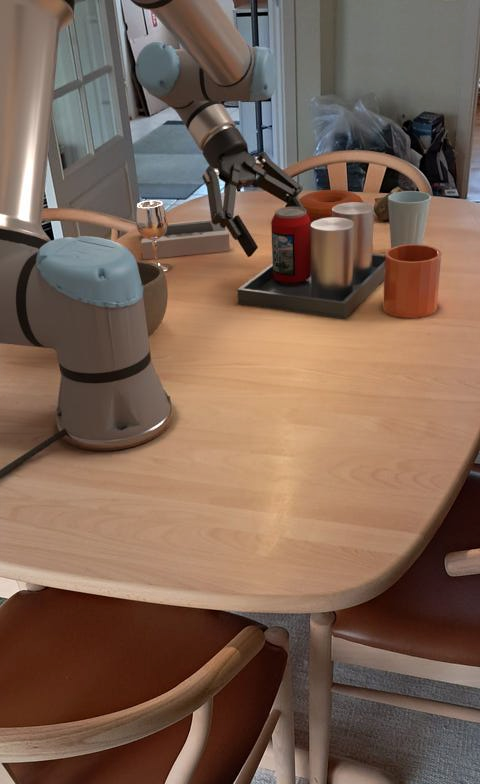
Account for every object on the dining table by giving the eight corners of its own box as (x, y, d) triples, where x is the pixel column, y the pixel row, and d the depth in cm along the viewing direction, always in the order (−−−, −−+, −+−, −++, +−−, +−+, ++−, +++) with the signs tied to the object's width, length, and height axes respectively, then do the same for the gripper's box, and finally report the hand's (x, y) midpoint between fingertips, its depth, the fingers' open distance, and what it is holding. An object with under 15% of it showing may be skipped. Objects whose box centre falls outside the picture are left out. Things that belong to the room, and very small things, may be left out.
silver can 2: (363, 286, 143) (365, 215, 136) (325, 282, 146) (325, 212, 139) (377, 272, 148) (379, 203, 141) (340, 268, 151) (341, 200, 144)
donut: (378, 216, 177) (379, 192, 174) (336, 236, 168) (336, 210, 165) (323, 206, 185) (322, 183, 182) (280, 224, 176) (279, 200, 174)
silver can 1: (343, 305, 137) (344, 232, 130) (304, 300, 140) (303, 228, 133) (359, 290, 142) (360, 219, 135) (321, 285, 145) (320, 215, 138)
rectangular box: (141, 242, 161) (138, 212, 174) (144, 265, 164) (141, 234, 177) (228, 234, 162) (220, 204, 175) (230, 256, 165) (221, 226, 178)
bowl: (119, 306, 144) (110, 249, 138) (195, 328, 135) (189, 267, 129) (42, 342, 134) (29, 282, 128) (118, 368, 124) (108, 304, 118)
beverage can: (266, 278, 149) (263, 209, 142) (300, 270, 151) (298, 203, 144) (284, 289, 144) (281, 219, 137) (318, 281, 146) (317, 212, 139)
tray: (344, 319, 134) (345, 303, 132) (238, 304, 142) (237, 289, 140) (393, 270, 150) (394, 255, 149) (295, 259, 158) (295, 245, 157)
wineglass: (136, 272, 158) (127, 207, 151) (153, 262, 162) (145, 198, 155) (162, 275, 156) (154, 209, 149) (178, 265, 160) (171, 201, 153)
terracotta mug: (427, 321, 131) (431, 265, 126) (375, 314, 135) (377, 259, 129) (448, 295, 139) (453, 241, 134) (399, 289, 143) (401, 236, 137)
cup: (435, 255, 155) (439, 197, 149) (400, 263, 153) (403, 205, 147) (412, 244, 161) (415, 188, 155) (378, 252, 159) (380, 195, 153)
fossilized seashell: (422, 198, 177) (375, 207, 179) (420, 175, 171) (371, 184, 174) (425, 226, 174) (377, 234, 177) (422, 203, 168) (372, 212, 171)
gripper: (261, 140, 156) (319, 236, 155) (155, 169, 143) (219, 273, 142) (279, 112, 149) (341, 211, 149) (171, 139, 137) (237, 248, 136)
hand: (281, 242), depth 146 cm, fingers open, 13 cm apart
